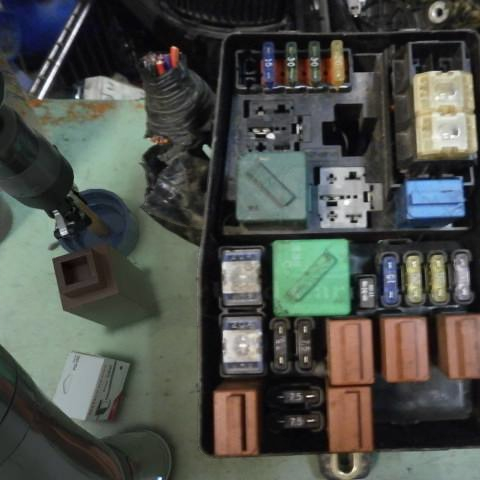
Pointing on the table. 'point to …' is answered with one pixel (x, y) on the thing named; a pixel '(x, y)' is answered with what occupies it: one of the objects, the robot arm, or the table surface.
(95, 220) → the stirring stick
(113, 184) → the table surface
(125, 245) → the bowl
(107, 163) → the table surface
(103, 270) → the stand
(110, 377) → the ink box
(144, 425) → the table surface
